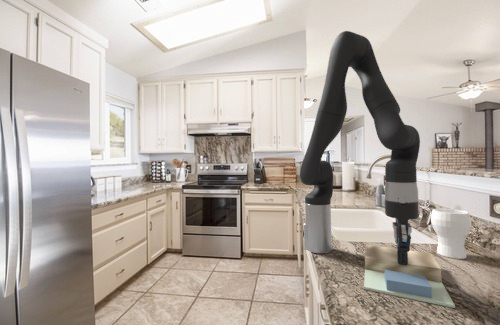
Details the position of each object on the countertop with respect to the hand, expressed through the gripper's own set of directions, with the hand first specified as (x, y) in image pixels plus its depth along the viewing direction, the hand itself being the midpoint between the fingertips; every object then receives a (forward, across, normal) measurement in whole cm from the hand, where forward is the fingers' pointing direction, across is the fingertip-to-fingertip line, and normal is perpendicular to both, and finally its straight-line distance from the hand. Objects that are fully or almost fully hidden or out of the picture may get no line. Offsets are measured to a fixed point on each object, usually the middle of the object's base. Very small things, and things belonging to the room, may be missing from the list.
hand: (402, 264), depth 63 cm
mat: (+5, +2, 0) cm, 6 cm away
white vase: (+5, -30, +17) cm, 35 cm away
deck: (+5, -10, 0) cm, 11 cm away
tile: (+3, +4, 0) cm, 5 cm away
